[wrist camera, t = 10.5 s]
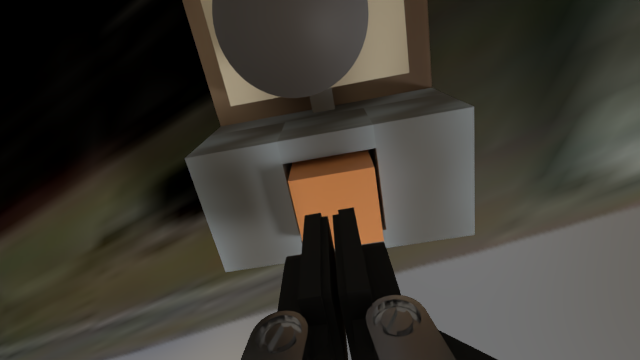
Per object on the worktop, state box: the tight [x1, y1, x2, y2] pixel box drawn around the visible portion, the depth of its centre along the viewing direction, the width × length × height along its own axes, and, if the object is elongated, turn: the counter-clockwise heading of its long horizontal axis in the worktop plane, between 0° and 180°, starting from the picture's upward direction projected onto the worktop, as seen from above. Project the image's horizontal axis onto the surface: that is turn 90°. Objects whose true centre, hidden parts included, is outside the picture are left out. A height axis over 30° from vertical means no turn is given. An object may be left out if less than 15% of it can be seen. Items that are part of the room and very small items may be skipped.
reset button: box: [288, 150, 384, 248], centre depth 15 cm, size 3×3×3 cm
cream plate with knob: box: [200, 0, 409, 106], centre depth 11 cm, size 8×5×10 cm, turn 100°
